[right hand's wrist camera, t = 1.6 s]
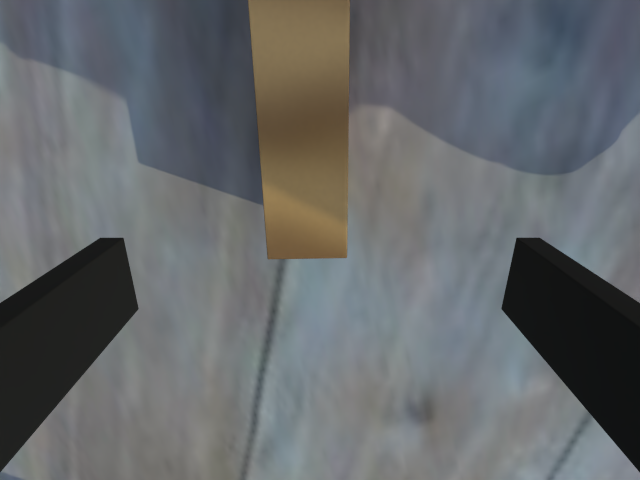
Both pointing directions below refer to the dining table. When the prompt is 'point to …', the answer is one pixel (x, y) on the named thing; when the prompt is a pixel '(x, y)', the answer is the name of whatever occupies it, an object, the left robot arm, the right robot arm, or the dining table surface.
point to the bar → (302, 123)
